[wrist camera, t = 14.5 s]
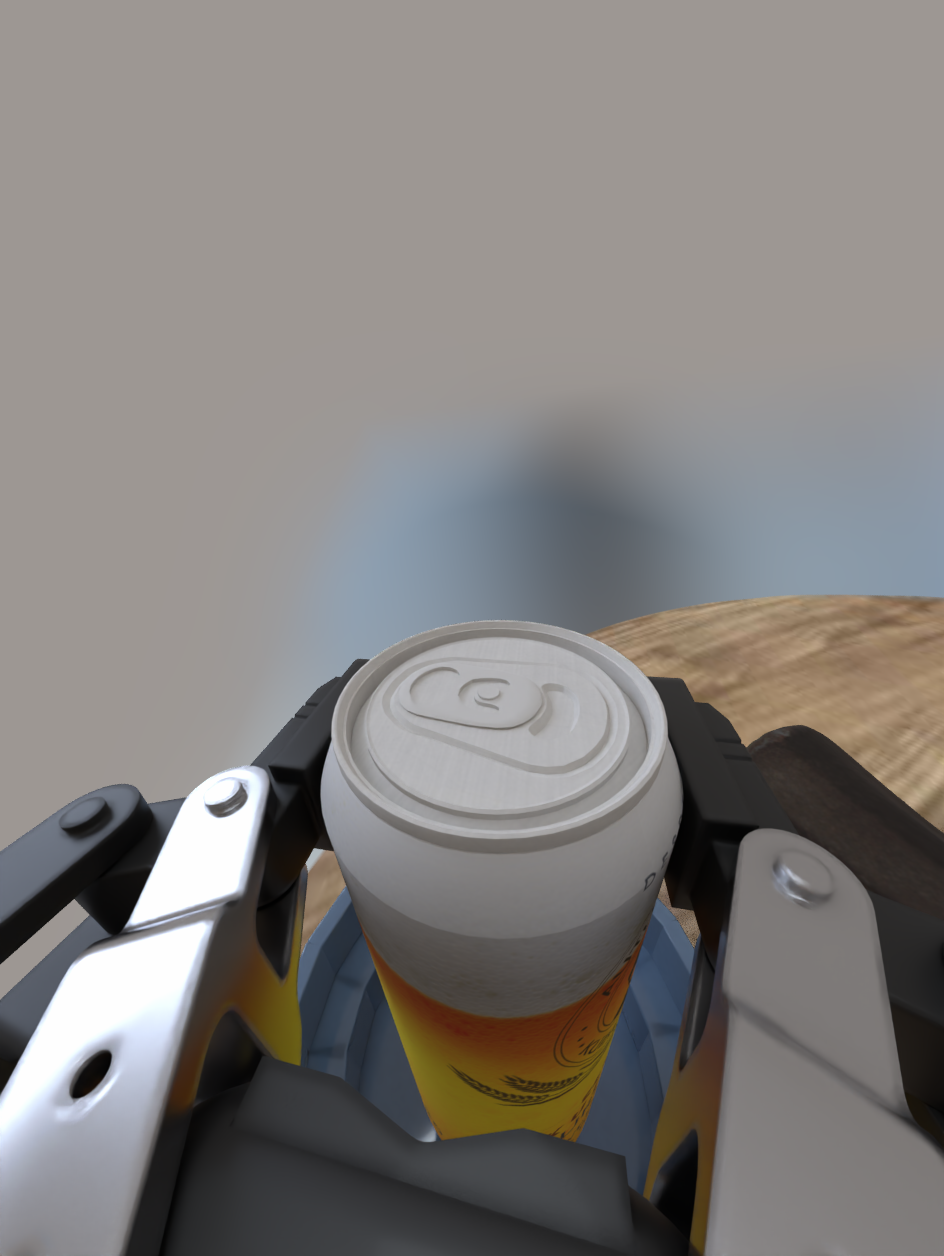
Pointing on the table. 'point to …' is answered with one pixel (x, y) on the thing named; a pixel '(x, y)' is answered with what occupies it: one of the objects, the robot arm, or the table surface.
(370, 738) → the beer can
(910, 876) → the dark brown pestle
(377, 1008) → the blue bowl
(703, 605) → the table surface
